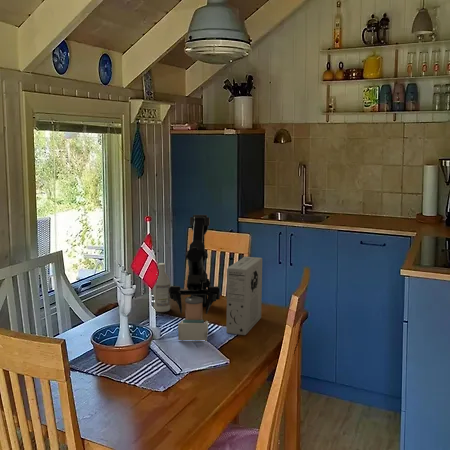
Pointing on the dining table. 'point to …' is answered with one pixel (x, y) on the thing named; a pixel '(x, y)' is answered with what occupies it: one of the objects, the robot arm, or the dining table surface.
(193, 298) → the grey brown rounded piece
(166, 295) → the bath foam
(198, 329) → the pusher lane
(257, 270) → the cereal box
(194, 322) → the pusher paddle
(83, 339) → the dining table surface
